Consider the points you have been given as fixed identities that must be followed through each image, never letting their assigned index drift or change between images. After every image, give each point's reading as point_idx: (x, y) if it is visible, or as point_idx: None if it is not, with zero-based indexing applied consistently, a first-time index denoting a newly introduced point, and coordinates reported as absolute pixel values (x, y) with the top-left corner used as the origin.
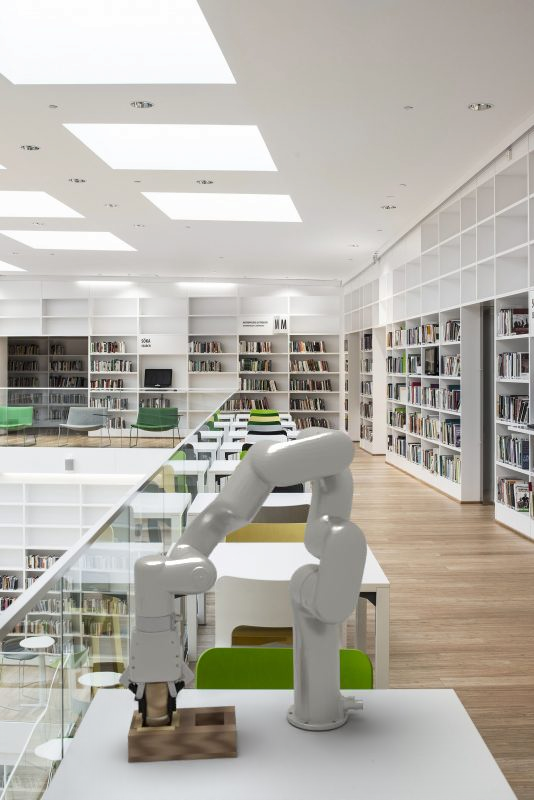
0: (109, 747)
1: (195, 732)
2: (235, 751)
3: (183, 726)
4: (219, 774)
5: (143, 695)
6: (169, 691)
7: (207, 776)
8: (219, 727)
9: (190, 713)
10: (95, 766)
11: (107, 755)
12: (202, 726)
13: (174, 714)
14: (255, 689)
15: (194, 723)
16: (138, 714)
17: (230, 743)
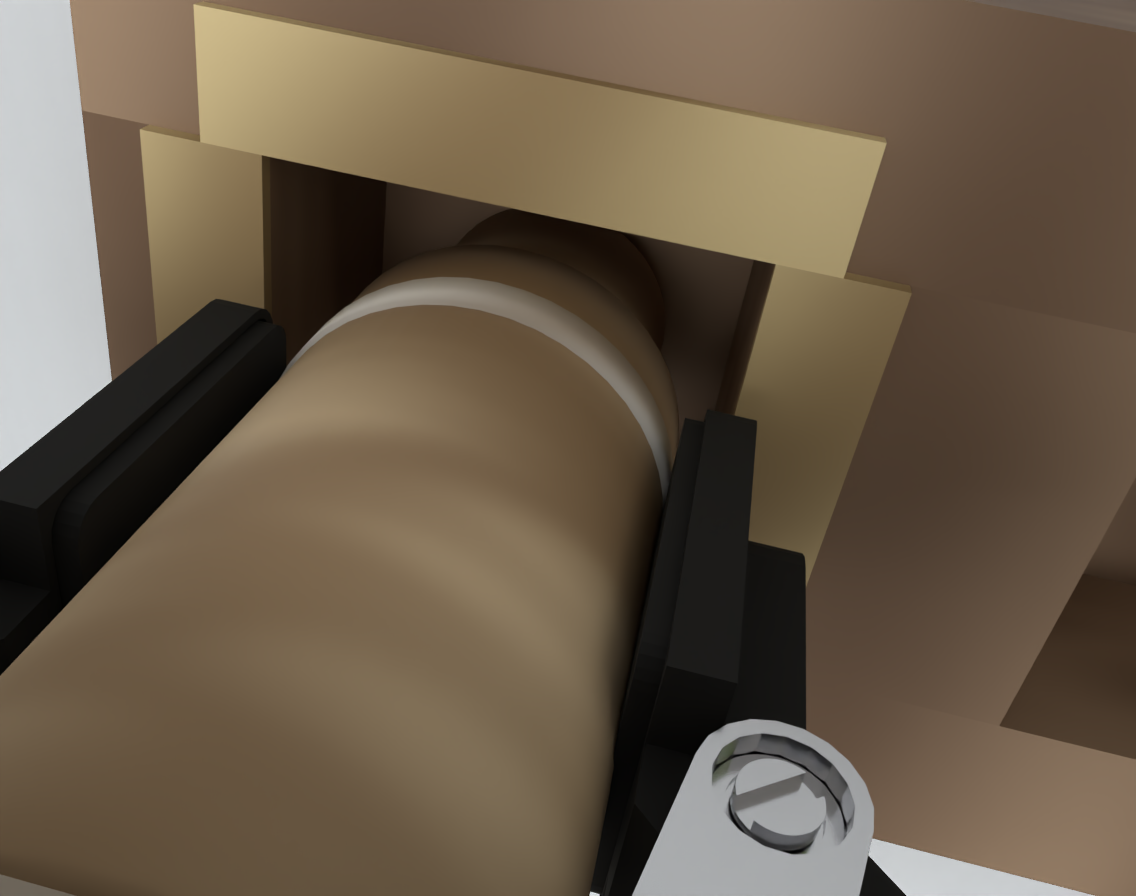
0: (31, 106)
1: (947, 852)
2: None
3: (840, 685)
4: (1022, 878)
5: None
6: (617, 867)
7: (916, 866)
8: None
9: (1109, 330)
10: (9, 443)
11: (58, 281)
12: (1104, 768)
13: (796, 316)
14: None
15: (1027, 664)
16: (168, 71)
17: None
